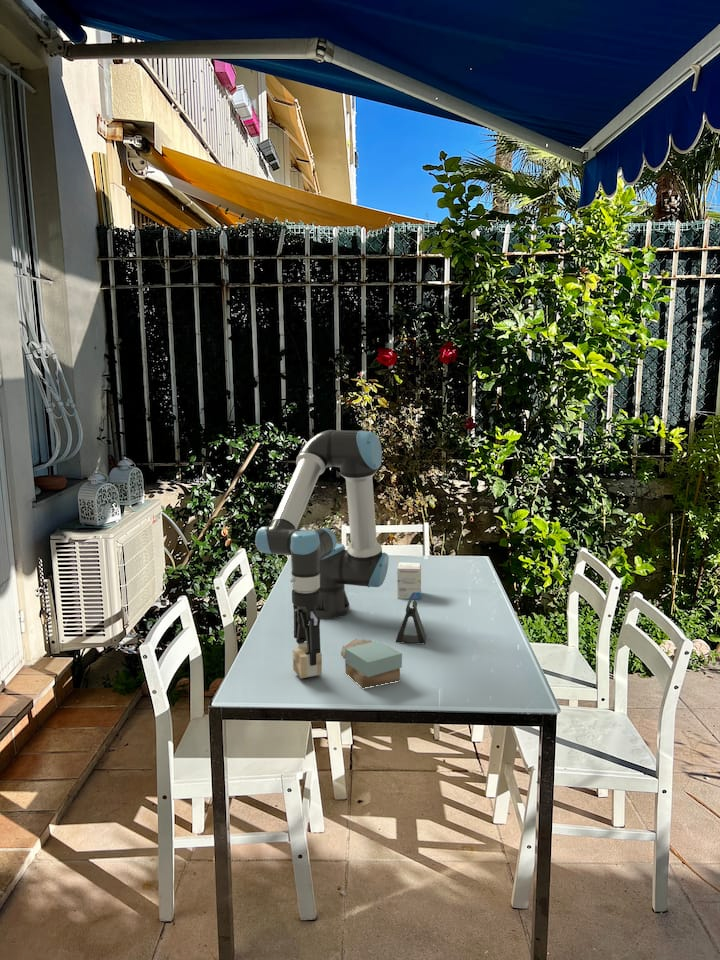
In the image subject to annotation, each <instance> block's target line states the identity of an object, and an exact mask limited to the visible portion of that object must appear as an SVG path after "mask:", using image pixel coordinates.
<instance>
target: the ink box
mask: <svg viewBox="0 0 720 960" xmlns="http://www.w3.org/2000/svg"><path fill="white" fill-rule="evenodd" d="M396 575H397V578H396V581H397V582H396V583H397V599H398V600H404V599H405V600H421V599H422V597H421V595H422V563H421V562H398V565H397V573H396Z"/></svg>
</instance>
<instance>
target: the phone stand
mask: <svg viewBox="0 0 720 960" xmlns="http://www.w3.org/2000/svg"><path fill="white" fill-rule="evenodd" d="M411 602H412V606H411ZM410 617H411V618H412V620H413V624H414V627H415V630H416V632H415V633H416V635H413V634H405V632H406V627H407V624H408V621H409V618H410ZM426 640H427V633H426V631H425V627H424V625H423V622H422V620H421V616H420V613H419V611H418V602H417V599H413V601H412V599H408V601H407V604H406V607H405V615H404V618H403V619H402V622H401V626H400V628H399V631H398V633H397V635H396V639H395V643H397V642H404V643H403V644H412V643H425V644H426Z"/></svg>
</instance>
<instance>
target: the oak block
mask: <svg viewBox="0 0 720 960" xmlns="http://www.w3.org/2000/svg"><path fill="white" fill-rule="evenodd" d="M305 652H308V649H307V647H301V648H292V668H293V669H292V670H293V671H294V672H295V674H296V675H297V676H298V677H299V678H300V679H305V678H308V677H307V658H306V654H305ZM322 655H323V654H322V652H320V653H317V675H315V676H314V677H316V676H320V675H322V674H323V663H322V662H323V658H322V657H323V656H322ZM310 677H311V678H312V676H310Z"/></svg>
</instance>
